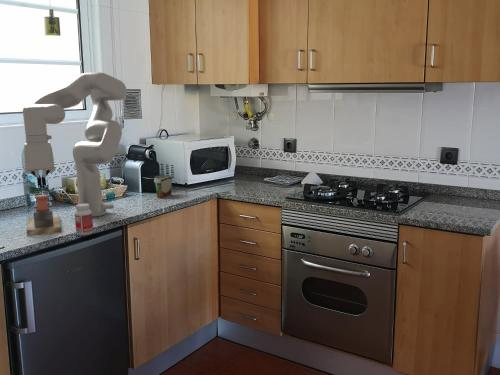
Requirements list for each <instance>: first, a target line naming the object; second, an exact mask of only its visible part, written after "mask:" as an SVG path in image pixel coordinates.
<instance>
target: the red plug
mask: <svg viewBox="0 0 500 375" xmlns="http://www.w3.org/2000/svg"><path fill="white" fill-rule="evenodd" d="M48 199H49V195H48V194H38V195H36V196H35V200H36V202H37V207H38V212H40V211H48V205H47V202H48Z"/></svg>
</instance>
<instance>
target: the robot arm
mask: <svg viewBox="0 0 500 375" xmlns="http://www.w3.org/2000/svg"><path fill="white" fill-rule="evenodd" d="M127 92H128V91H127V86H126V85H125V83H124V82H123V80H120V79H119V78H118V79H117V78H115V77H114V76H111V75H109V74H107V73H104V72H84V73H83V72H82V73H80V74H79V75H78V76H76V77H75V78H74V79H72V80H71V81H70V82H69V83H68V84H66V85H64V86H63V87H62V88H59V89H57V90H55V91H53V92H50V93H47V94H45V95H43V96H41V97H39V98H38V99H36V100H35V101H34V102H33V103H32V104H31V105H28V106H24V107H23V108H22V116H23V124H24V134H25V141H26V142H25V143H24V146H23V151H24V152H23V156H24V166H25V169H24V170H25V171H24V174H29V175H32V176H34V177H35V178H36V180H37V186H38V187H39V189H42V188H43V189H45V186H47V179H46V177H47V176H48V175H49V173H53V172H56V167H55V158H54V153H53V147H52V144H51V142H50V140H52V135H49V134H48V129H47V125H56V124H60V123H62V122H63V121H64V120H65V119H66V111H65V109H69V108H73V107H76V106H78V105H80V104H81V103H82V101H84V100H85V99H86V98H88V96H90V99H91V102H92V105H93V106H92V107H93V110H92V113H91V115H90V118H89V120H88V122H87V125H86V126H85V130H84V137H85V138H86V140H82V141H78V142H76V143H75V144H74V146H73V148H72V157H73V160H74V164H75V168H76V180H77V192H78V193H77V194H78V204H89V210H91V211H92V218H97V217H101V216H105V215H106V214H107V210H108V209H109V210H113V209H114V208H115V206H114V203H113V204H111V203H110V204H109V203H104V202H103V199H102V198H103V197H102V196H103V195H102V181H101V171H100V169H99V167H98V165H108V164H110V163H111V162H112V161H113V160H114V157H115V155H116V153H117V150H118V147H119V145H120V142H121V140H122V134H123V131H122V130H123V129H122V127H121V126H122V125H121V123H119V121H116V120H113V115H114V114H113V110H112V108H111V106H110V104H109V101H121V100H123V99H124V98H126V96H127ZM41 170H42V175H40V172H39V171H41Z"/></svg>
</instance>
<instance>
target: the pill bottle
mask: <svg viewBox="0 0 500 375" xmlns="http://www.w3.org/2000/svg"><path fill="white" fill-rule="evenodd" d="M75 209H76V211H75V212H74V225H75V234H76V235H77V236H89V235H92V234H93V233H94V225H93V224H94V223H93V222H94V221H93V217H92V211H91V210H89V204H79V203H78V204H76V205H75Z"/></svg>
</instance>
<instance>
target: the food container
mask: <svg viewBox="0 0 500 375" xmlns="http://www.w3.org/2000/svg"><path fill="white" fill-rule="evenodd" d="M172 181H173V176H172V175H171V174H169V175H168V174H166V175H158V176H157V175H156V176H154V179H153V182H154V184H155V189H156V190H155V191H156V198H157V199H161V200H163V199H166V198H168V197H170V196H172V191H173V190H172V187H173V186H172V183H173V182H172Z"/></svg>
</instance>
